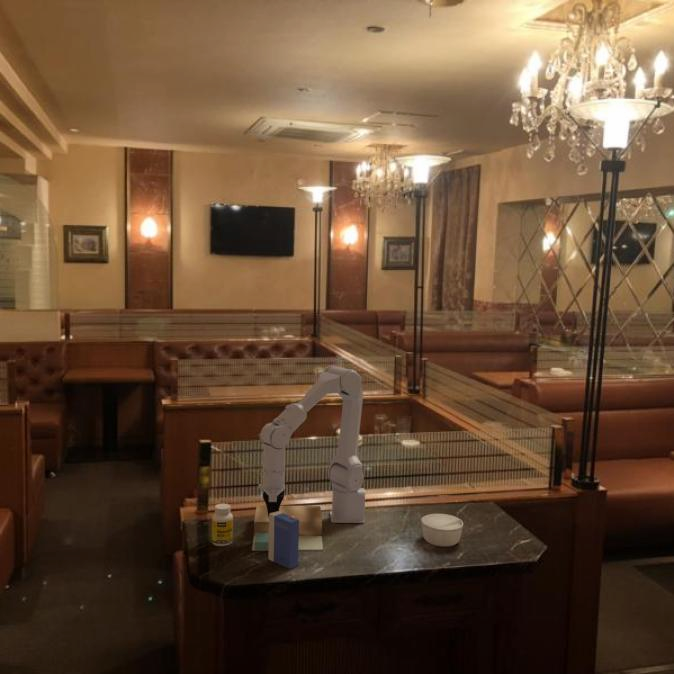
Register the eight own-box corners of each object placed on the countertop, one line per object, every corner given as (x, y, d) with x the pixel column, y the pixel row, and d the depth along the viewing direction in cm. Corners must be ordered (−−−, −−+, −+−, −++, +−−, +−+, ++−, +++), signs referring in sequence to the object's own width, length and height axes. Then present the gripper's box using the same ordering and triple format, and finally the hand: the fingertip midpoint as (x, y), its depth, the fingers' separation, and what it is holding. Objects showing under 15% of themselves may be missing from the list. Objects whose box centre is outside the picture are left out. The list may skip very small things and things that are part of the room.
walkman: (298, 565, 166) (299, 518, 165) (289, 569, 164) (290, 521, 163) (276, 555, 172) (277, 509, 170) (268, 559, 169) (268, 512, 168)
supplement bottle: (215, 548, 175) (215, 511, 174) (208, 540, 180) (209, 504, 179) (235, 544, 178) (235, 508, 176) (228, 536, 182) (229, 501, 181)
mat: (321, 537, 184) (321, 536, 184) (322, 550, 175) (322, 549, 175) (253, 536, 183) (254, 535, 183) (251, 550, 174) (251, 549, 174)
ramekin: (459, 551, 177) (460, 531, 177) (416, 545, 180) (417, 525, 180) (464, 535, 188) (465, 516, 187) (424, 529, 191) (425, 511, 190)
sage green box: (290, 542, 174) (290, 549, 175) (290, 532, 180) (290, 540, 181) (254, 542, 174) (254, 549, 174) (256, 532, 180) (255, 540, 180)
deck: (320, 519, 196) (320, 505, 196) (321, 536, 184) (322, 521, 184) (256, 519, 195) (256, 505, 195) (254, 536, 183) (254, 521, 183)
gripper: (260, 460, 188) (259, 508, 190) (257, 477, 174) (256, 529, 175) (286, 461, 188) (285, 509, 190) (285, 477, 174) (284, 529, 176)
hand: (273, 518), depth 183 cm, fingers closed
